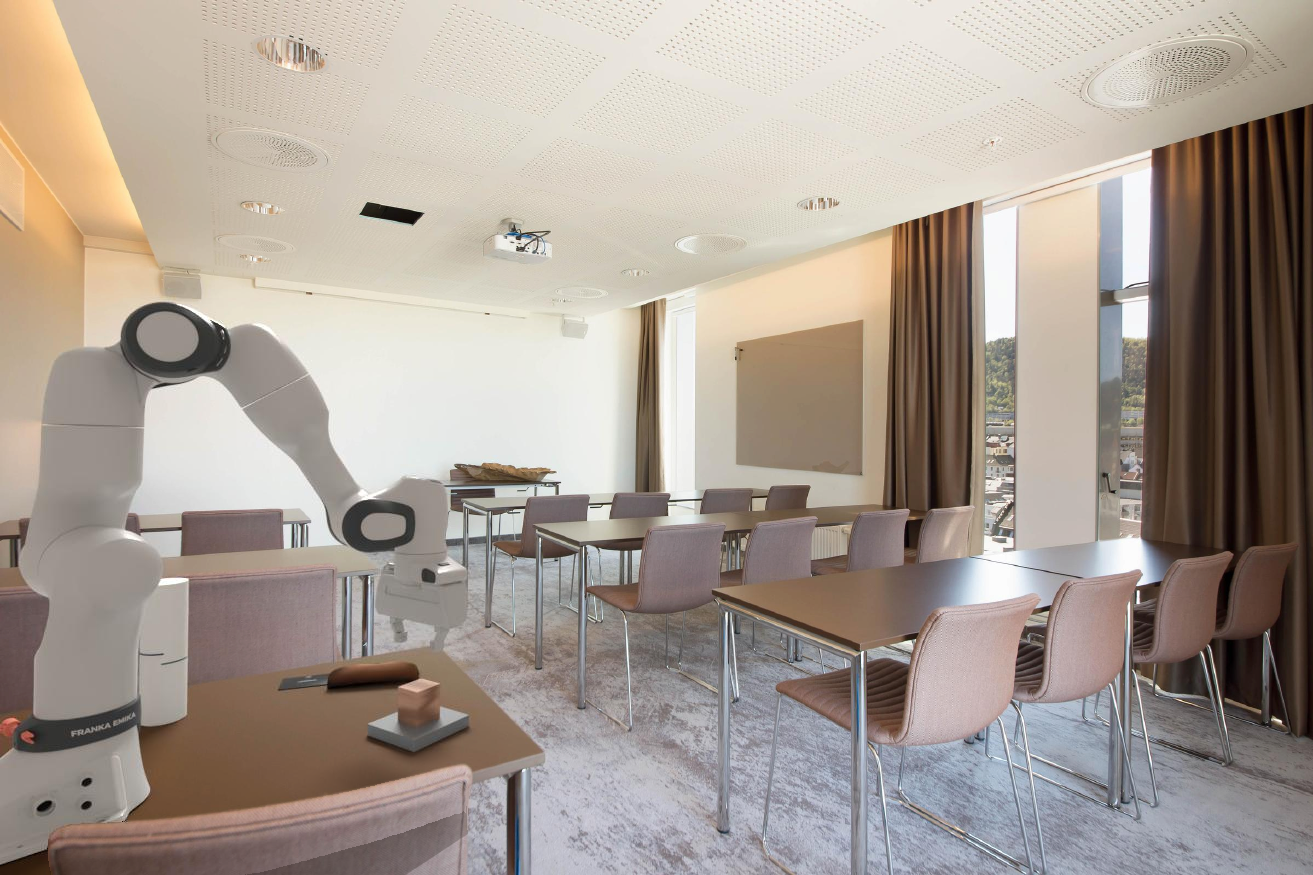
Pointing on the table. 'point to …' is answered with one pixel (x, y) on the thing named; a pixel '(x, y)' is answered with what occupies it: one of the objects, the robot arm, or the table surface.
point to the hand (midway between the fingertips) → (418, 646)
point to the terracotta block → (418, 702)
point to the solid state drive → (303, 682)
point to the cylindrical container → (164, 654)
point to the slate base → (417, 729)
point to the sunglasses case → (373, 673)
